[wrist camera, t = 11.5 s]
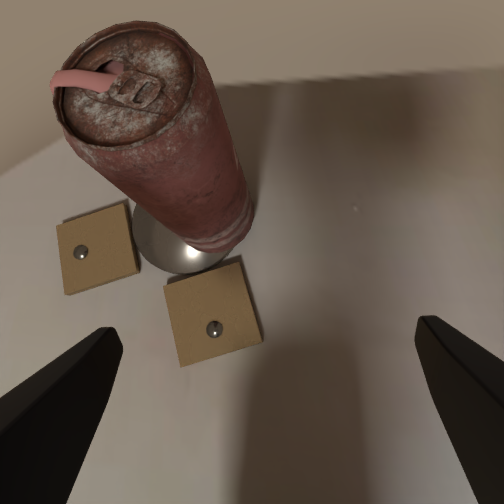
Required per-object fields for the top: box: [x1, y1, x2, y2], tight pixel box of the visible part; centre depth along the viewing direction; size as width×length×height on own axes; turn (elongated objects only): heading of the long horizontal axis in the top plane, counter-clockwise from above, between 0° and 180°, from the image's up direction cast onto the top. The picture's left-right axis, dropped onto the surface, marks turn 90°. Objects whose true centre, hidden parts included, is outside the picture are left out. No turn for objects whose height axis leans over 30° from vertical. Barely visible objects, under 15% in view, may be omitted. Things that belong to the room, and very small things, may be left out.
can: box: [50, 21, 254, 253], centre depth 18 cm, size 6×6×14 cm
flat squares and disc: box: [56, 203, 263, 367], centre depth 25 cm, size 15×15×1 cm
